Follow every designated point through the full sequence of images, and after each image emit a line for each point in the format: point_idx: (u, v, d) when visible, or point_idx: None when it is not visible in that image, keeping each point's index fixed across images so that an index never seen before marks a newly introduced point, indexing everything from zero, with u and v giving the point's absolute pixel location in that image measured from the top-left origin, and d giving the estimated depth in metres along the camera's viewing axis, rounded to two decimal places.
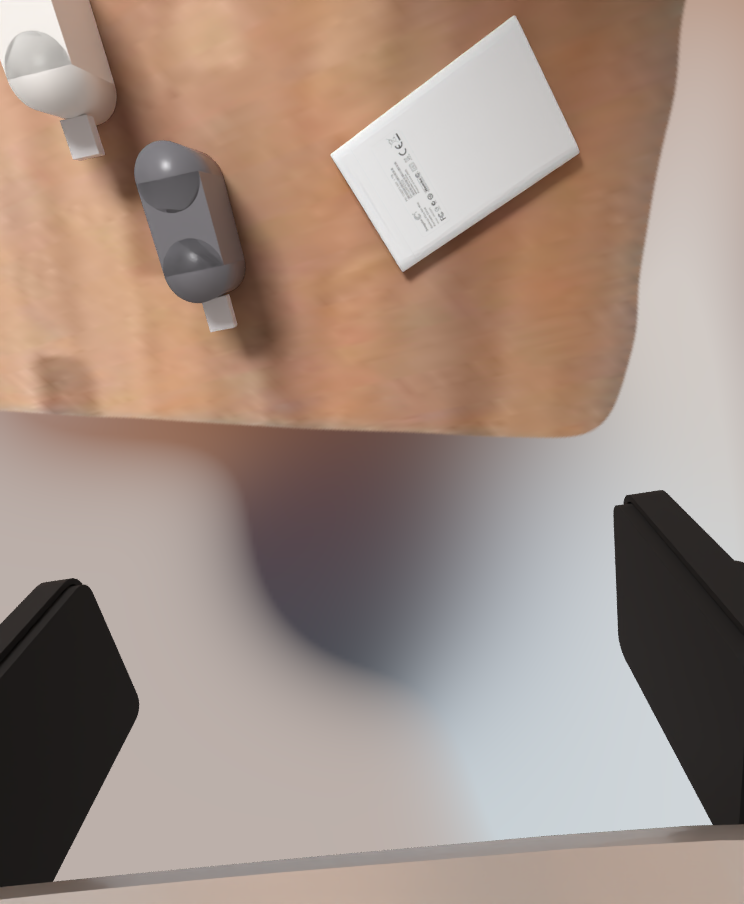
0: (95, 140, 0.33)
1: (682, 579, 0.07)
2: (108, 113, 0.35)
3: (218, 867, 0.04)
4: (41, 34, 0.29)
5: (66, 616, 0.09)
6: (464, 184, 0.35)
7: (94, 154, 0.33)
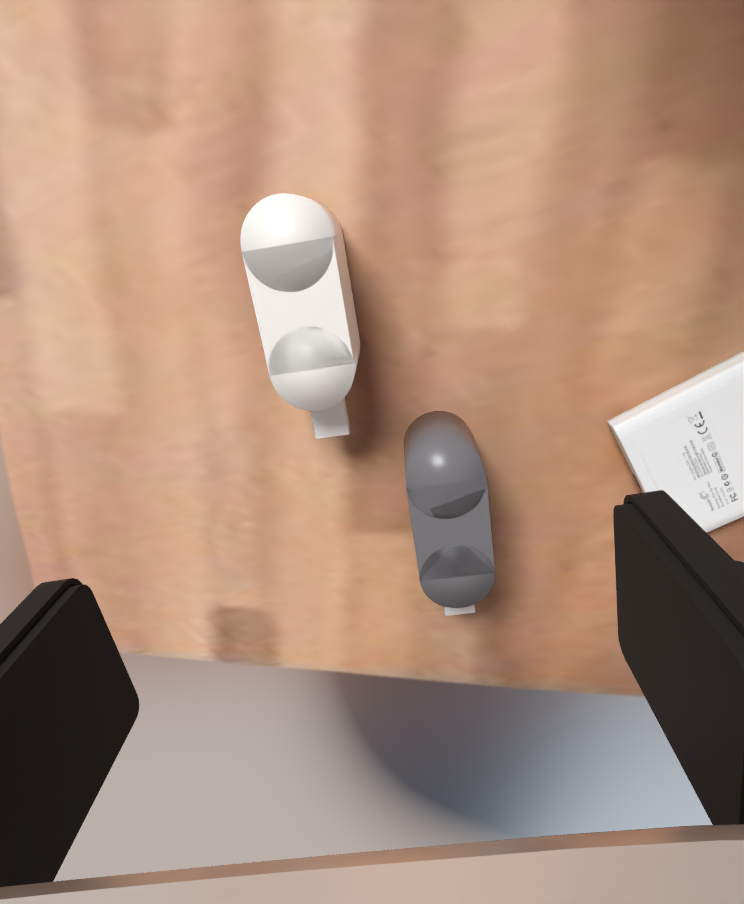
0: (346, 419, 0.27)
1: (682, 579, 0.07)
2: None
3: (218, 867, 0.04)
4: (322, 331, 0.24)
5: (66, 616, 0.09)
6: None
7: (342, 434, 0.28)
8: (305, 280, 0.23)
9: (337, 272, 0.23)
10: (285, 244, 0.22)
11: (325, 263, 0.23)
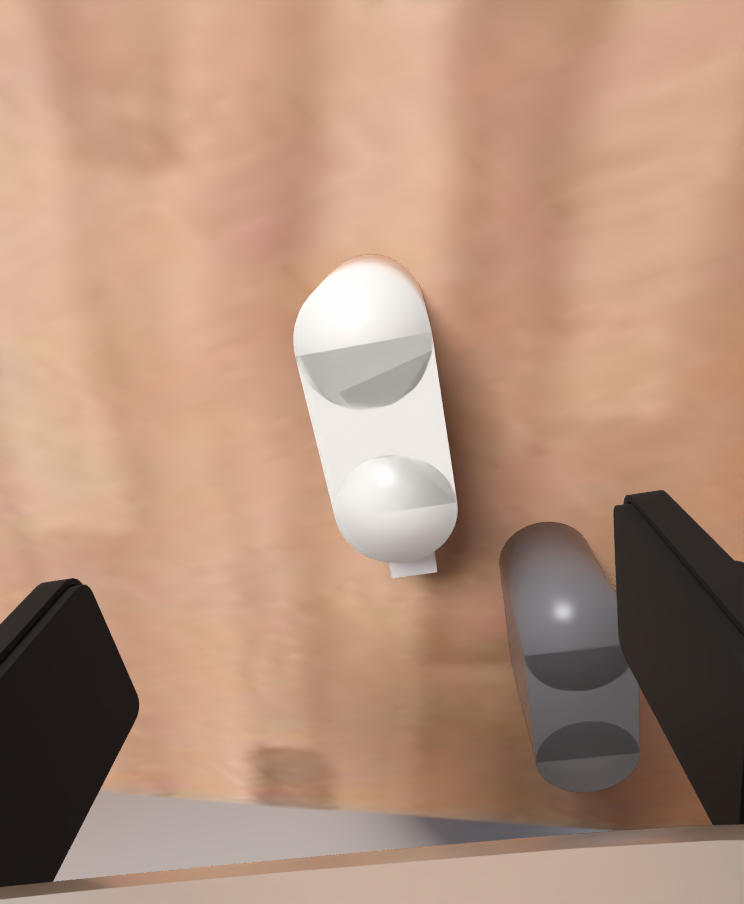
0: (433, 552, 0.20)
1: (682, 579, 0.07)
2: None
3: (218, 867, 0.04)
4: (412, 460, 0.16)
5: (66, 616, 0.09)
6: None
7: (428, 571, 0.20)
8: (389, 393, 0.15)
9: (437, 381, 0.15)
10: (360, 344, 0.15)
11: (419, 369, 0.15)
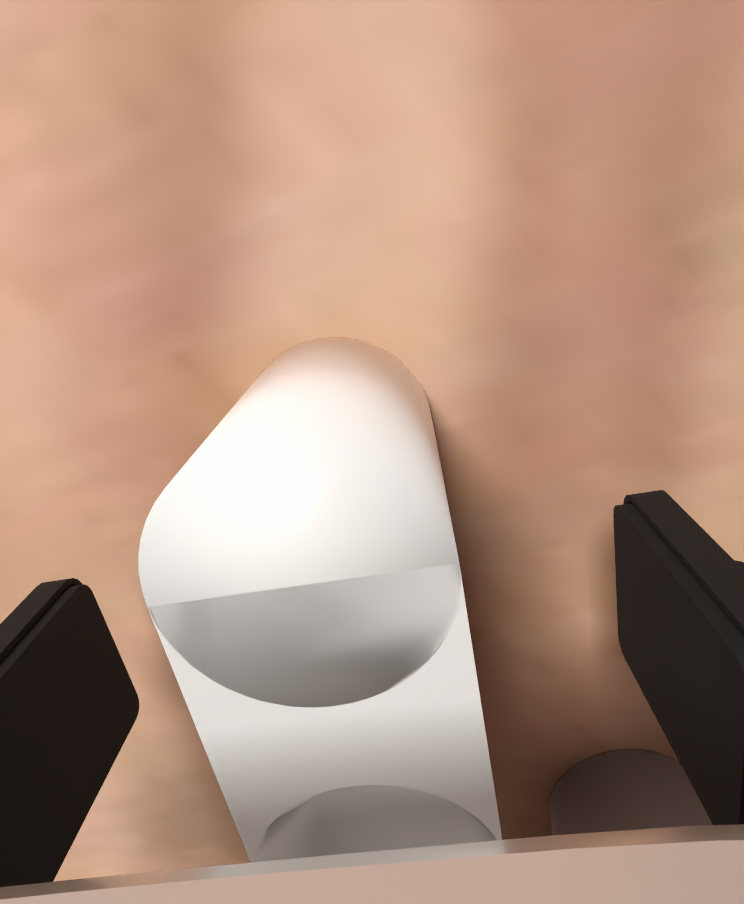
0: None
1: (682, 579, 0.07)
2: None
3: (218, 867, 0.04)
4: (414, 794, 0.08)
5: (66, 616, 0.09)
6: None
7: None
8: (362, 679, 0.07)
9: (471, 660, 0.07)
10: (294, 585, 0.06)
11: (430, 635, 0.07)
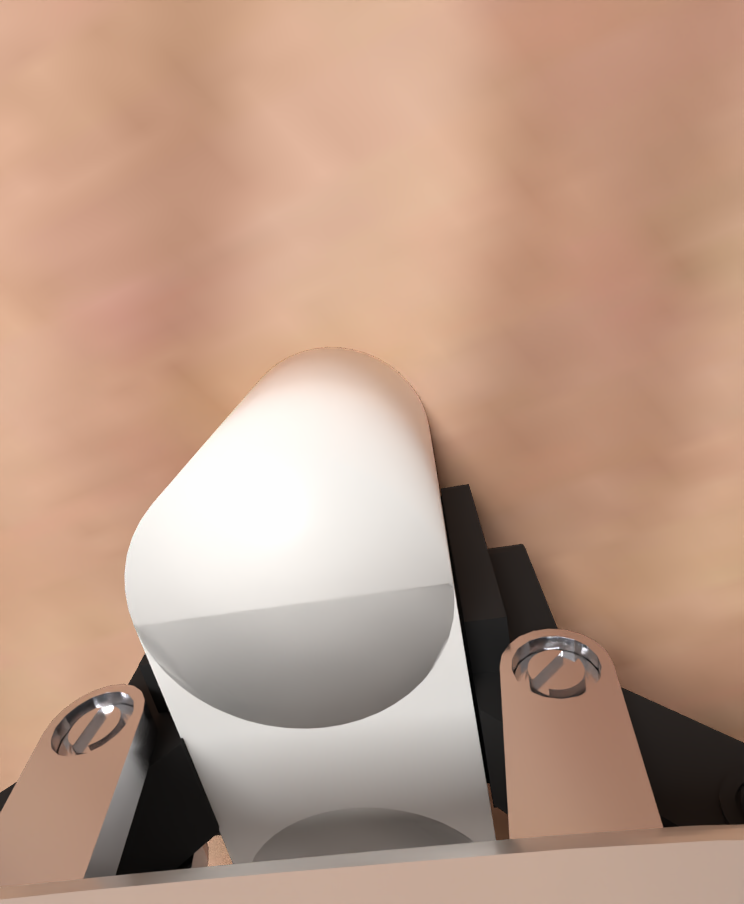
0: None
1: None
2: None
3: (218, 867, 0.04)
4: (409, 817, 0.07)
5: None
6: None
7: None
8: (354, 699, 0.07)
9: (465, 681, 0.07)
10: (283, 605, 0.06)
11: (424, 656, 0.07)
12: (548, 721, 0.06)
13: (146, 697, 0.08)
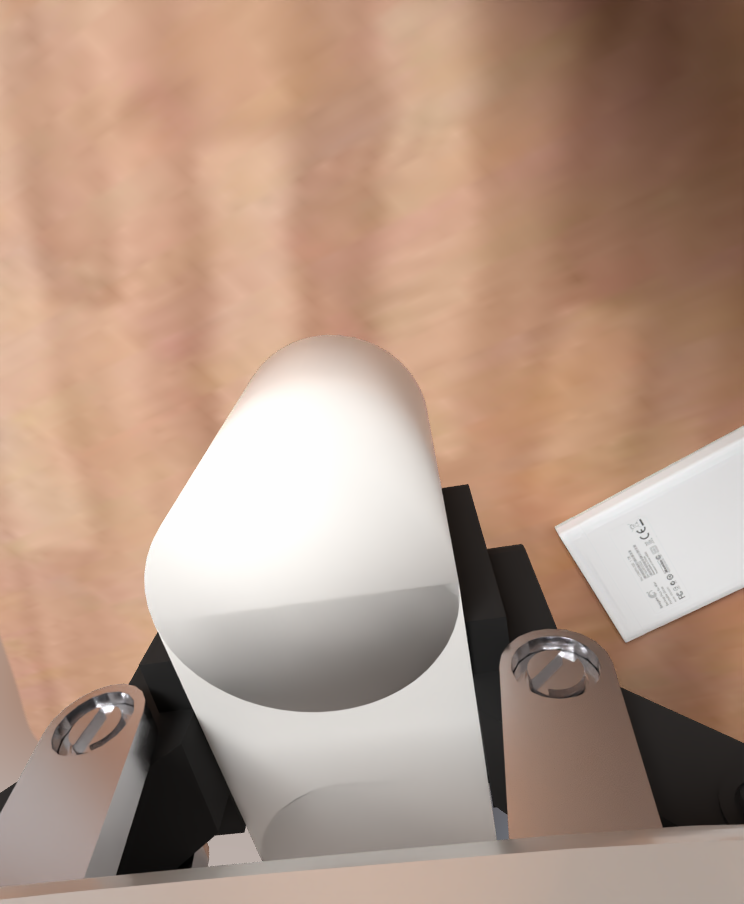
0: None
1: None
2: None
3: (218, 867, 0.04)
4: (412, 787, 0.08)
5: None
6: (711, 566, 0.31)
7: None
8: (363, 686, 0.07)
9: (468, 669, 0.07)
10: (297, 603, 0.07)
11: (430, 647, 0.07)
12: (547, 721, 0.06)
13: (146, 697, 0.08)
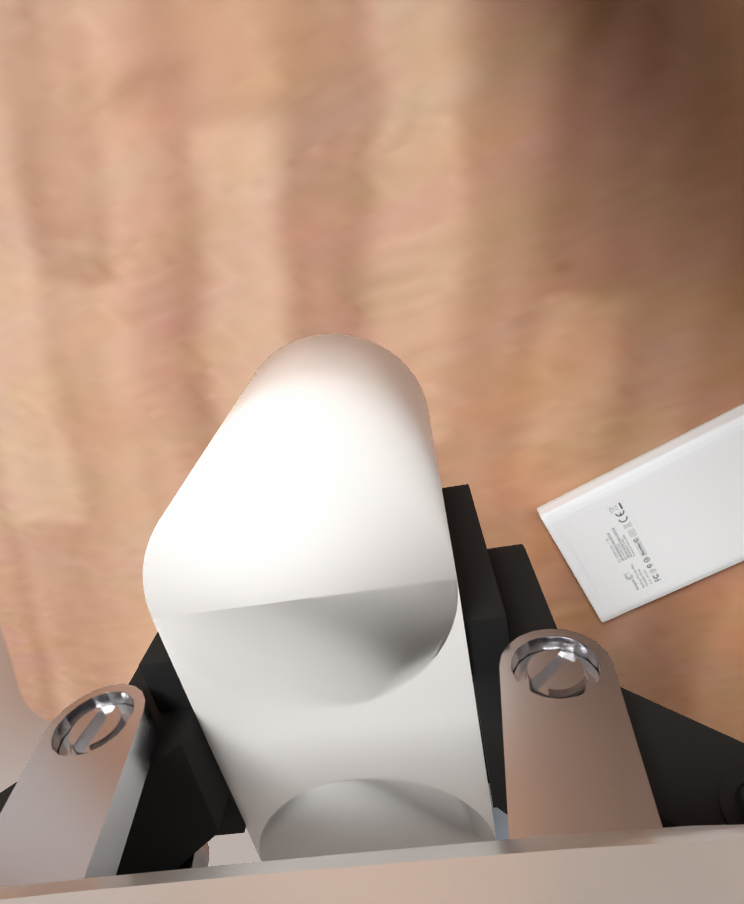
0: None
1: None
2: None
3: (218, 867, 0.04)
4: (411, 786, 0.08)
5: None
6: (687, 551, 0.31)
7: None
8: (363, 684, 0.07)
9: (467, 667, 0.07)
10: (295, 599, 0.07)
11: (428, 644, 0.07)
12: (547, 721, 0.06)
13: (146, 697, 0.08)
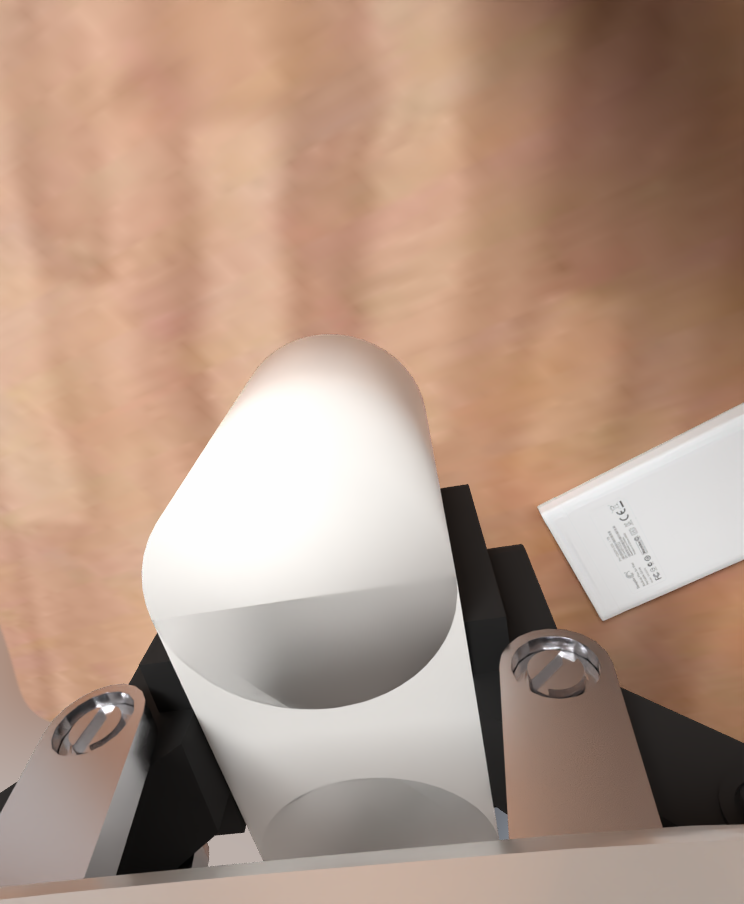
0: None
1: None
2: None
3: (218, 867, 0.04)
4: (413, 785, 0.08)
5: None
6: (688, 549, 0.31)
7: None
8: (363, 682, 0.07)
9: (467, 664, 0.07)
10: (295, 599, 0.07)
11: (428, 642, 0.07)
12: (547, 721, 0.06)
13: (146, 697, 0.08)
